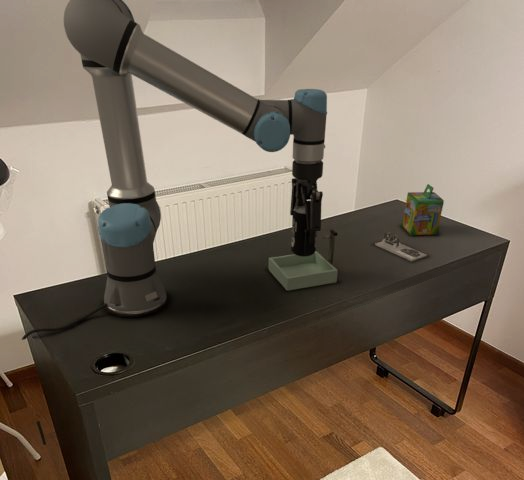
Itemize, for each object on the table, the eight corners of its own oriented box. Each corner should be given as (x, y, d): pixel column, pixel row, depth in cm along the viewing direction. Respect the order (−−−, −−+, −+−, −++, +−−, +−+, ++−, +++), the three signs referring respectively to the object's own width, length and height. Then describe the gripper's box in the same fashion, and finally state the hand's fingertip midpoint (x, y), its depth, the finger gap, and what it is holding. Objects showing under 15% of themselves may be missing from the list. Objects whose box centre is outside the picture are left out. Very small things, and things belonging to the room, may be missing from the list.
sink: (286, 290, 138) (287, 278, 136) (268, 269, 148) (268, 257, 146) (336, 282, 142) (337, 270, 140) (315, 262, 152) (316, 250, 150)
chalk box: (401, 226, 177) (408, 181, 169) (427, 225, 178) (435, 181, 170) (410, 236, 170) (418, 190, 161) (437, 235, 170) (447, 189, 162)
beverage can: (306, 259, 137) (309, 215, 131) (286, 253, 141) (287, 209, 134) (320, 251, 142) (323, 208, 135) (300, 245, 145) (302, 202, 138)
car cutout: (374, 244, 164) (376, 231, 161) (389, 240, 167) (391, 226, 164) (411, 261, 153) (414, 247, 151) (426, 256, 157) (429, 242, 154)
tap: (322, 274, 146) (325, 234, 139) (318, 270, 148) (321, 230, 141) (334, 272, 147) (338, 232, 140) (330, 268, 149) (333, 229, 142)
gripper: (340, 169, 121) (332, 261, 134) (305, 149, 136) (301, 234, 149) (310, 172, 119) (305, 265, 132) (278, 152, 134) (277, 237, 147)
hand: (303, 248), depth 141 cm, fingers closed on beverage can, 6 cm apart
